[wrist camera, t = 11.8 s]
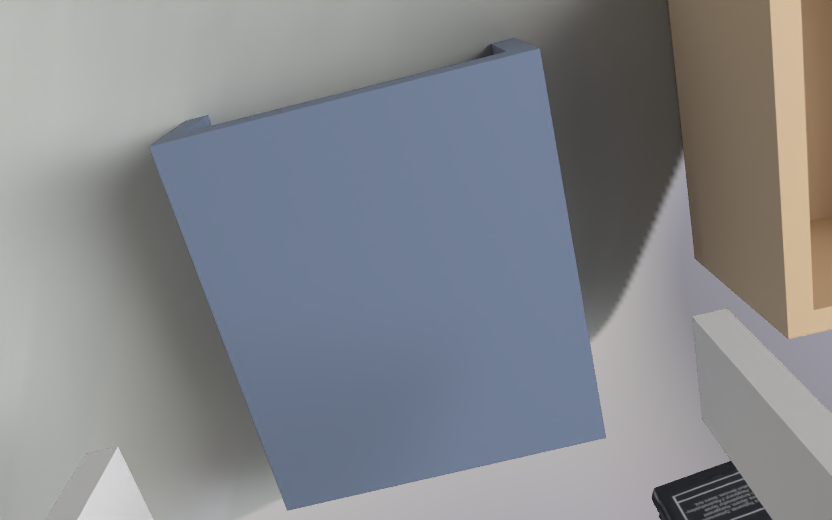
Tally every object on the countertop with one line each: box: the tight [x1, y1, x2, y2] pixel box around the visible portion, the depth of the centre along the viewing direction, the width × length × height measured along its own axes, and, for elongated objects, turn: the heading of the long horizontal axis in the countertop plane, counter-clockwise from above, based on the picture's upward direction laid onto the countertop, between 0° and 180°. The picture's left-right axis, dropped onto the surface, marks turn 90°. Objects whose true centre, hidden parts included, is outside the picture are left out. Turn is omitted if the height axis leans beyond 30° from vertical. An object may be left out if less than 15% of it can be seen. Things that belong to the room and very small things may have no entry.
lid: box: [149, 38, 606, 510], centre depth 26 cm, size 14×12×5 cm
